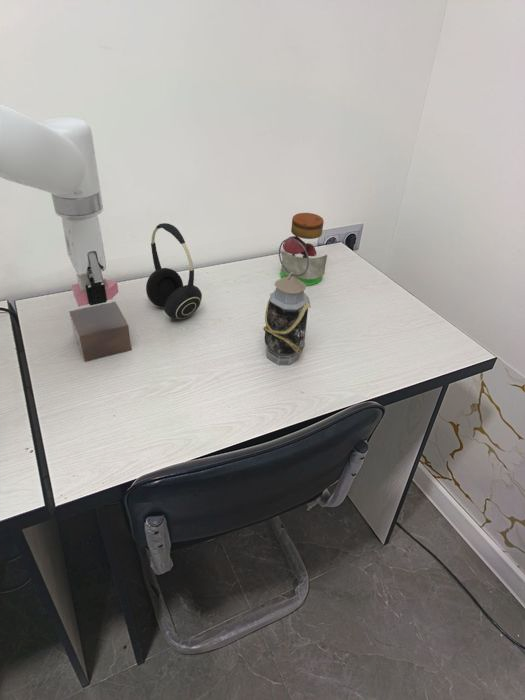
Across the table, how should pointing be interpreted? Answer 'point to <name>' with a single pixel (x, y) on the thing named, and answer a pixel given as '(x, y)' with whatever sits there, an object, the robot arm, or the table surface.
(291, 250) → the brown red grey stack
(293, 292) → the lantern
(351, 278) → the table surface
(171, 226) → the headphones
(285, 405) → the table surface
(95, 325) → the block
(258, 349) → the table surface
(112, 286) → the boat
